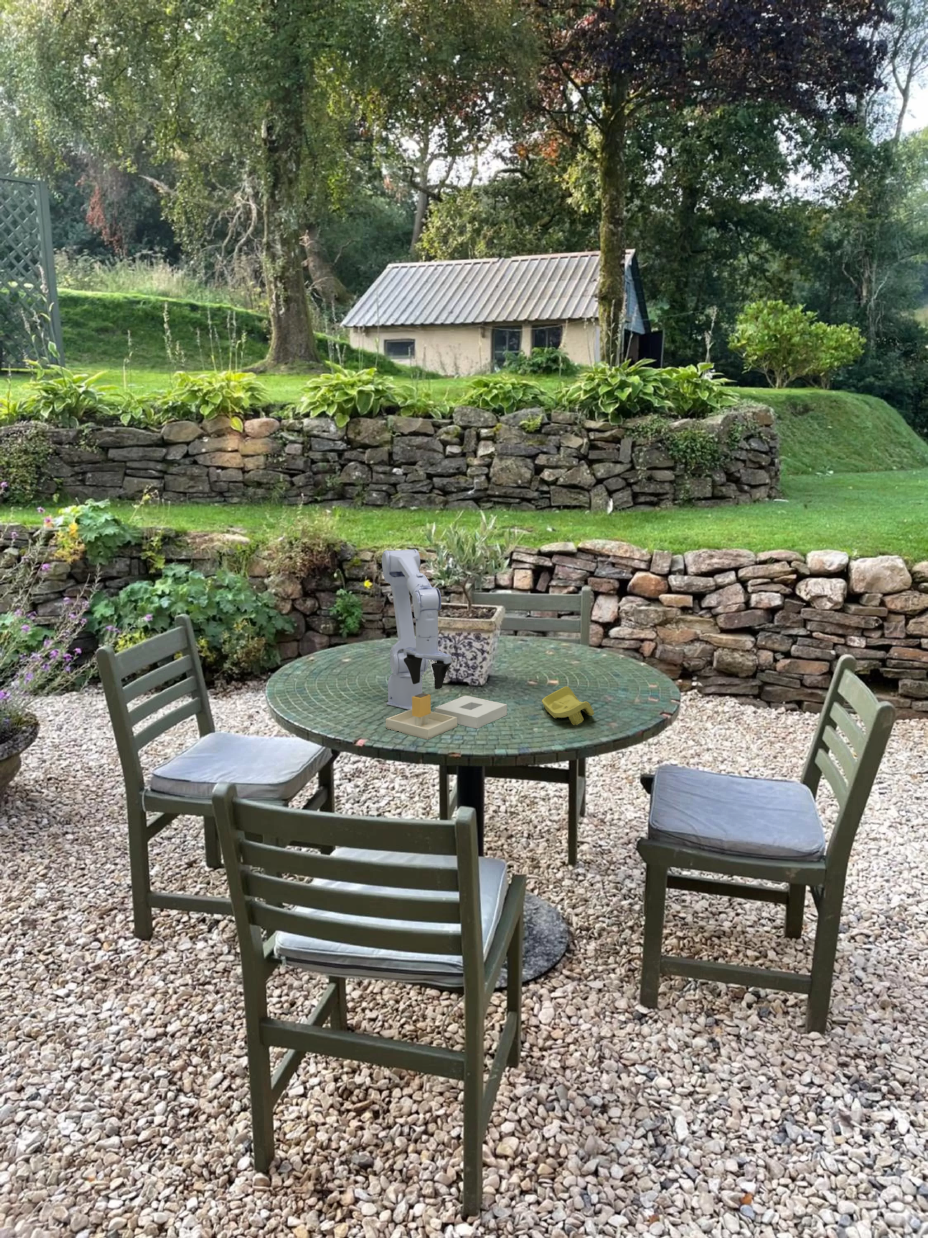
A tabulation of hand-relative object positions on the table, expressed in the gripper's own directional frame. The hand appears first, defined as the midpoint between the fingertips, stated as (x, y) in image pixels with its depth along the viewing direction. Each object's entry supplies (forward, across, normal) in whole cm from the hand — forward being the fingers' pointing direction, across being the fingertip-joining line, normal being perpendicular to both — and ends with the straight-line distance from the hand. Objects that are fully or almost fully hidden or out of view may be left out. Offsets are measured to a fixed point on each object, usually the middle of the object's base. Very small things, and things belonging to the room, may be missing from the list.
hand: (427, 685), depth 216 cm
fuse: (+10, +1, -4) cm, 10 cm away
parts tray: (+10, +1, -4) cm, 11 cm away
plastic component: (+11, +27, +27) cm, 40 cm away
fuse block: (+10, +6, +11) cm, 16 cm away
